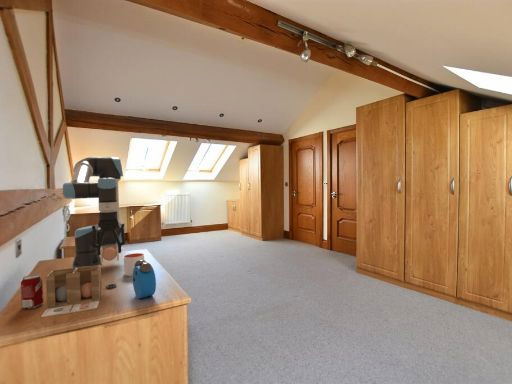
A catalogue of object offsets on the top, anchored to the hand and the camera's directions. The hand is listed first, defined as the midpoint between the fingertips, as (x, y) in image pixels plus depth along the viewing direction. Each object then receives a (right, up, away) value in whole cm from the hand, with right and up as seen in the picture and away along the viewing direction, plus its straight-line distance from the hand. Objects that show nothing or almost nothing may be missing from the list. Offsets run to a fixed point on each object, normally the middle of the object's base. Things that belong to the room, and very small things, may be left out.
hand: (110, 260), depth 133 cm
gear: (0, -12, 0) cm, 12 cm away
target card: (-3, -13, -23) cm, 27 cm away
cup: (+3, -12, +19) cm, 23 cm away
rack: (-6, -13, -15) cm, 21 cm away
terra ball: (0, +3, 0) cm, 3 cm away
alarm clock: (+21, -12, -12) cm, 27 cm away
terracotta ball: (-2, -9, -13) cm, 16 cm away
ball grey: (-10, -9, -17) cm, 22 cm away
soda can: (-21, -14, -20) cm, 32 cm away
